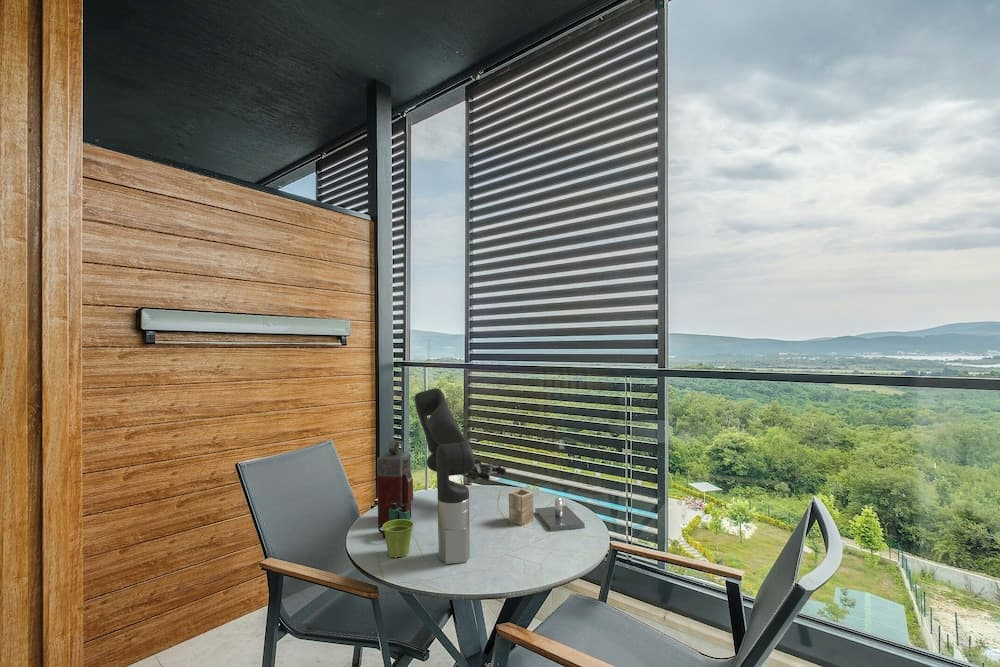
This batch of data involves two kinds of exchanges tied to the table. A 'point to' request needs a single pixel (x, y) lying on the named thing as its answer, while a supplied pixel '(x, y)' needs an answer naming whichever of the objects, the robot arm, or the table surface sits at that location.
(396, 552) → the plant pot
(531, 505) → the wooden sleeve
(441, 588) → the table surface
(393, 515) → the binoculars
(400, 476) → the dark red bottle
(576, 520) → the post plate
